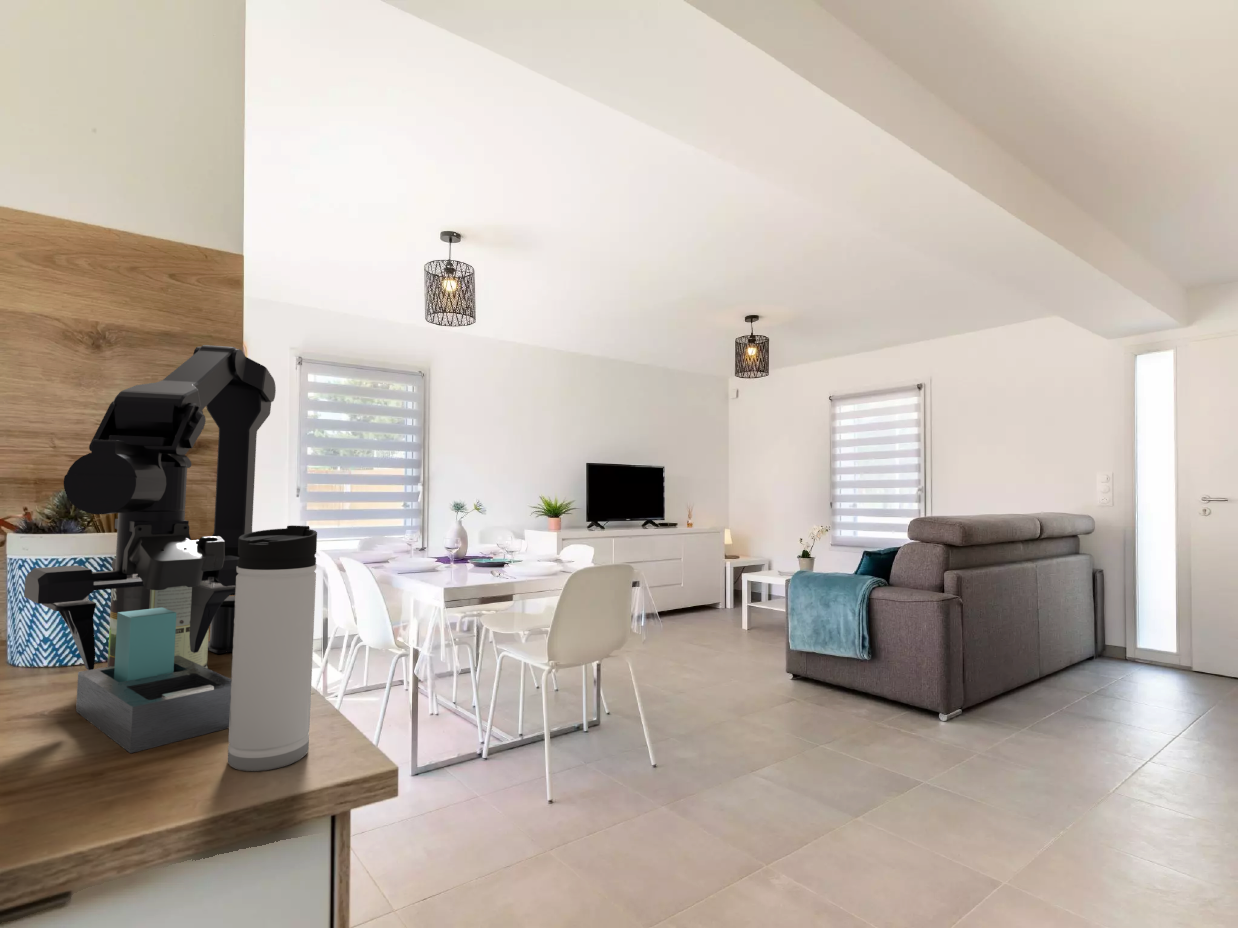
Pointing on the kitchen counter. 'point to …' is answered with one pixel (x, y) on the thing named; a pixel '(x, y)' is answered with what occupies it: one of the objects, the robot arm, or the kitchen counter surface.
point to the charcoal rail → (155, 704)
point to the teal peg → (144, 643)
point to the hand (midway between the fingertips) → (144, 660)
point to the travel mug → (272, 648)
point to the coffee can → (149, 599)
